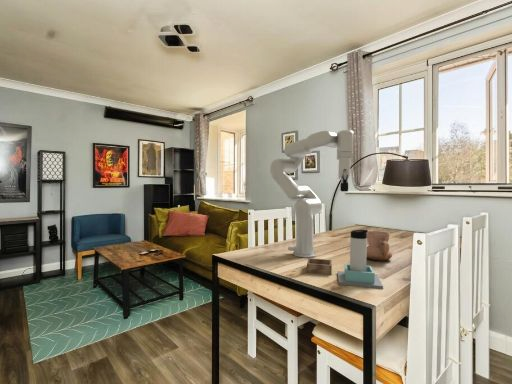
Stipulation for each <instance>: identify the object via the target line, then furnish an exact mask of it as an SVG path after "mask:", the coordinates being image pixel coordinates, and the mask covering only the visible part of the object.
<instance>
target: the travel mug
mask: <svg viewBox="0 0 512 384" xmlns="http://www.w3.org/2000/svg"><path fill="white" fill-rule="evenodd" d="M368 231H369V230H368V229H354V230H351V231H350V239H349V240H350V242H349V243H350V245H349V246H350V247H349V248H350V249H349V250H350V251H349V259H350V260H349V264H350V271H362V272H366V266H367V258H366V257H367V245H368V242H367V232H368Z"/></svg>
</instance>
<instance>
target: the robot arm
mask: <svg viewBox="0 0 512 384" xmlns="http://www.w3.org/2000/svg"><path fill="white" fill-rule="evenodd" d="M320 147H328V148H332V149H334V148H335V149H336V160H338V175H337V176H338V177H337V178H338V180H340V186H339V187H340V188H339V189H340V191H341V192H349V179H350V174H351V173H350V172H351V160H353V159H354V131H353V130H351V129H350V130H349V129H345V130H343V129H342V130H340V131H338V132H334V131H329V130H322V131H318V132H315V133H311V134H309V135H308V136H307V137H306V138H303V139H300V140H299V139H298V140H295V141H292V142H289V143H287V144H286V145H285V146H284V148H283V152H284V154H285V156H287V157H288V158H289V159H288V158H277V159H274V160H273V161H272V162H271V163H270V168H269V171H270V175H271V177H272V179H273V181H274V182H275V183H276V184H277V185H278V187H279V188H280V189H281V190H282V191H283V193H284V194H285V195H286V197H287V198H288V199H289V200H290V201H292V202H295V203H294V212H295V230H296V231H295V246H289V245H288V247H287V250H288V251H292V252H293V253H292V255H293V256H295V257H298V258H307V259H308V258H313V257H316V256H317V253H316V252H315V251H314V219H313V216H312V215H316V214H319V213H320V212H321V211H322V209H323V204H322V202H321V199H320V198H319V197H318V196H317V195H316V193H315V192H314V191H313V190H312V189H311V188H310V187H309V186H308V185H305V184H297V183H296V182H295V181H294V179H293V178H292V177H291V176H290V175H288V174H293V173H295V172H296V171H297V170H298V168H299V167H300V166H301V164H302V162H303V161H304V159H305V158H306V155H309V154H312V153H313V151H314V149H317V148H320Z"/></svg>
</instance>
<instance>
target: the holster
mask: <svg viewBox="0 0 512 384" xmlns="http://www.w3.org/2000/svg"><path fill="white" fill-rule="evenodd" d="M332 263H333V262H332V259H327V258H326V259H324V258H313V257H308V258H307V262H306V273H307V274H316V275H317V274H318V275H327V276H328V275H330V276H331V275H332V274H333V273H332V269H333V268H332V267H333V266H332Z"/></svg>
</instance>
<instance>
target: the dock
mask: <svg viewBox="0 0 512 384" xmlns="http://www.w3.org/2000/svg"><path fill="white" fill-rule="evenodd" d="M337 280H338V285H341V286H351V287H362V288H370V289H381V290H382V289H384V285H383V283H382V281H381V280H380V277H379V275H378V274H377V273H375V271H374V269H373V268H372V265H366V272H362V271H350V263H349V264H348V263H344V271H342V270H341V271H339V270H337Z"/></svg>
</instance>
